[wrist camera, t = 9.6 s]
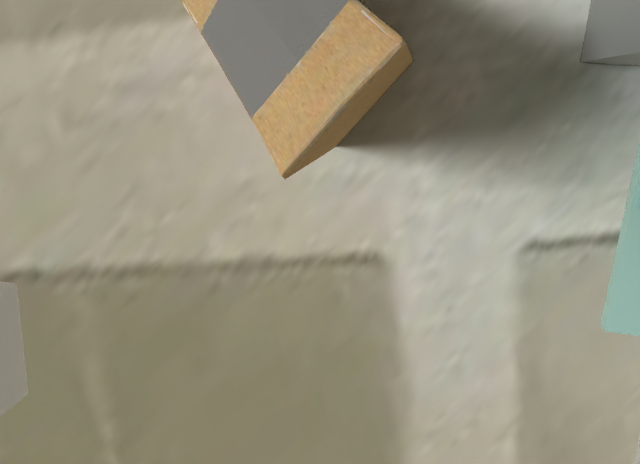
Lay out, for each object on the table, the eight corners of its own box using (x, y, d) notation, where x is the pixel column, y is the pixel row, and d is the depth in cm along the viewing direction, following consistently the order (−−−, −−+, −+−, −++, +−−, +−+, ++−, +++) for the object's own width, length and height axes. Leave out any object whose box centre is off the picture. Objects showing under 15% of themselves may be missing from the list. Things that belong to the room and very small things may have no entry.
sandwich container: (252, -102, 39) (147, -213, 25) (418, 56, 39) (409, 38, 25) (177, 2, 41) (42, -43, 27) (333, 149, 42) (282, 181, 28)
